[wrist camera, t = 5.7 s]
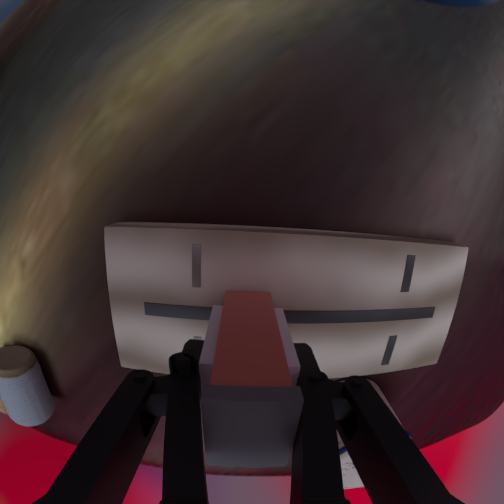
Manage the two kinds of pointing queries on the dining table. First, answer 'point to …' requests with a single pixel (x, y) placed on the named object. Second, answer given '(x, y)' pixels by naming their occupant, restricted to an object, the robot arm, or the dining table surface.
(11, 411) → the ceramic mug
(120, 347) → the panel
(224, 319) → the fader tab
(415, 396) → the dining table surface
